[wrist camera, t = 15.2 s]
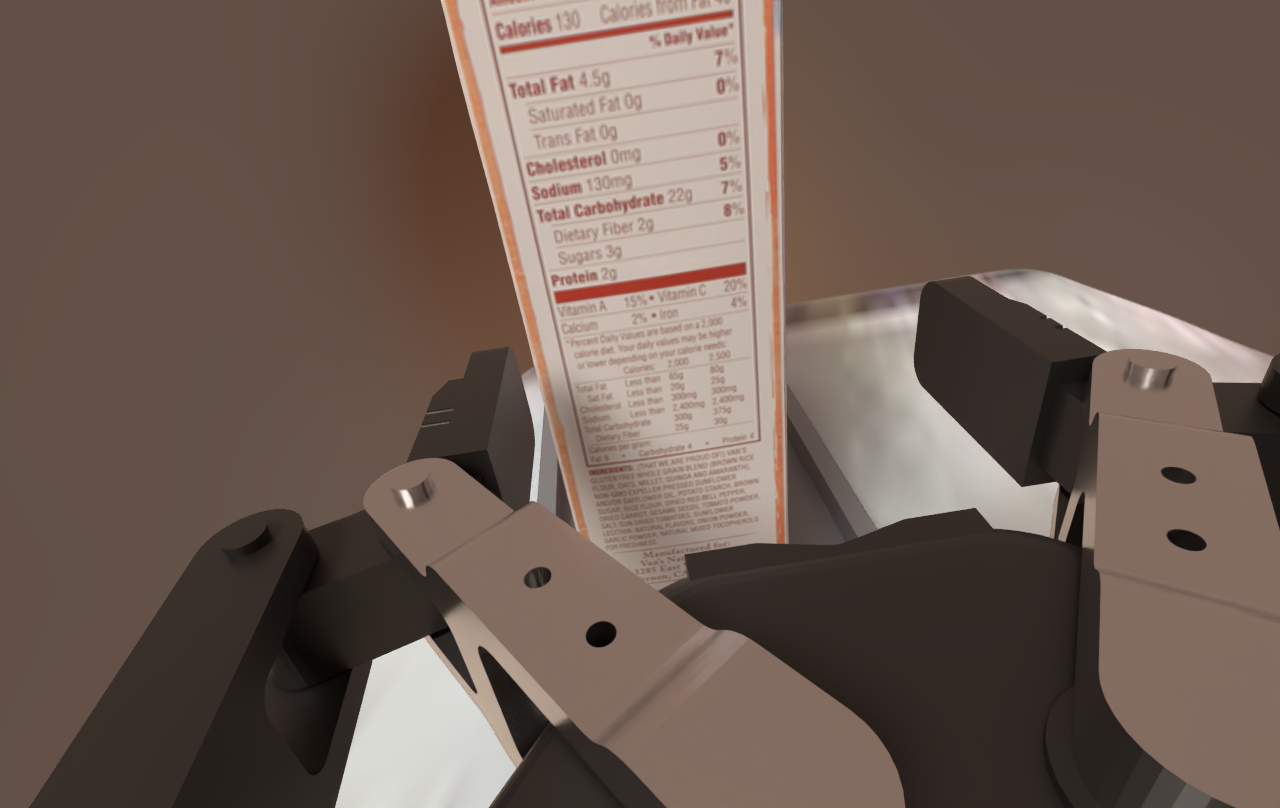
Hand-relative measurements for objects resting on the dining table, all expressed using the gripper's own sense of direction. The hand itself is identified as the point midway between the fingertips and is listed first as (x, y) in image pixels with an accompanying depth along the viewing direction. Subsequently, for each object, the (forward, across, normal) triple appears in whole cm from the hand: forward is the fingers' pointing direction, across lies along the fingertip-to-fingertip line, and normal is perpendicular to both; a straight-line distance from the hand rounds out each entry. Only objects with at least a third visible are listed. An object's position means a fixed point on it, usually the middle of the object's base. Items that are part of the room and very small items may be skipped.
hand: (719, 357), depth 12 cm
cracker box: (+8, +1, +12) cm, 15 cm away
